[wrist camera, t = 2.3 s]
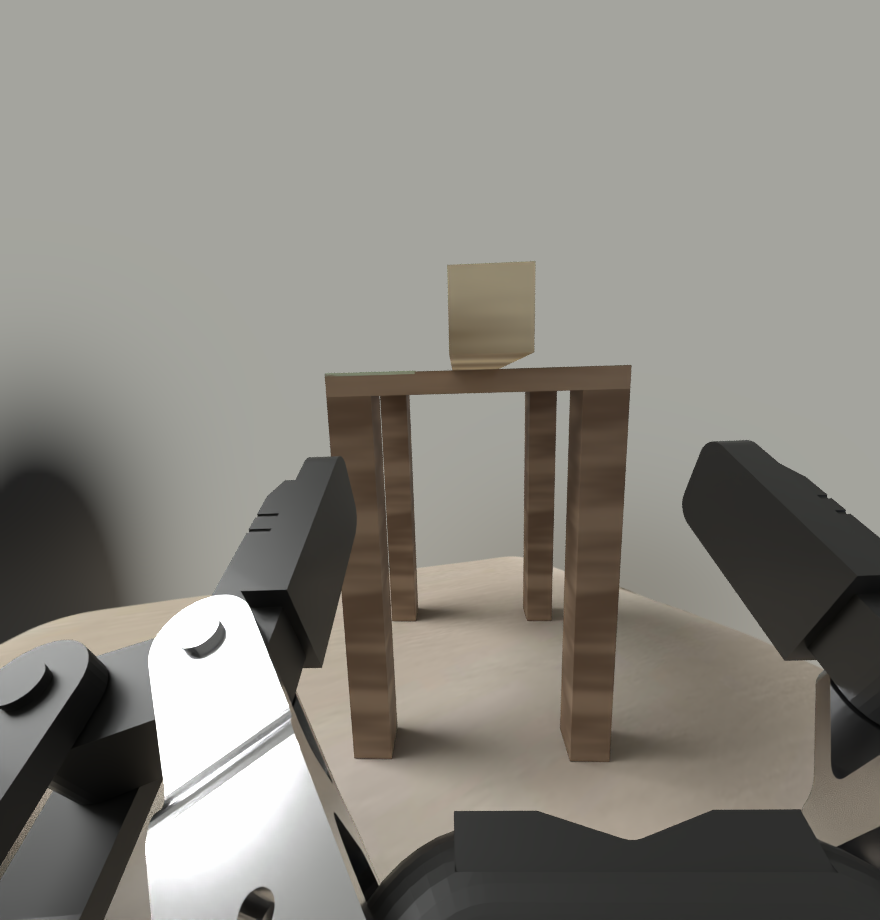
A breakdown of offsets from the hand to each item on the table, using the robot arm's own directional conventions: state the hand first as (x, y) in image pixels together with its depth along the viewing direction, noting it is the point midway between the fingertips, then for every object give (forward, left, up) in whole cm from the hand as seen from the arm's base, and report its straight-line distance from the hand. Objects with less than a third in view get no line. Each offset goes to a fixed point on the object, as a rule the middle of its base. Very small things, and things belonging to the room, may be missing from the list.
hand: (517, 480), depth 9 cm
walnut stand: (-18, +22, -27) cm, 39 cm away
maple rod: (-14, +16, +3) cm, 22 cm away
